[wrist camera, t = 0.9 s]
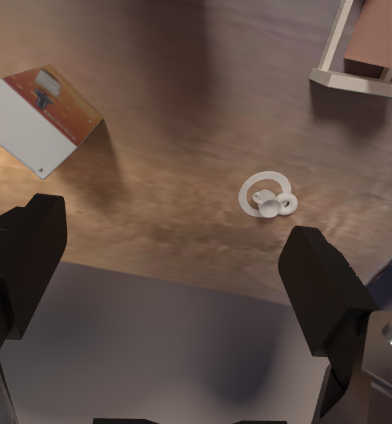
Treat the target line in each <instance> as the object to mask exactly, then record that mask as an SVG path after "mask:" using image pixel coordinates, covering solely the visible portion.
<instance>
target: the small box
mask: <svg viewBox="0 0 392 424" xmlns="http://www.w3.org/2000/svg"><path fill="white" fill-rule="evenodd" d="M102 119H103V117H102V116H101V115H100V114H99V113H98V112H97V111H95V110H94V109H93V108H92V107H91V106H90V105H89V104H88V103H87V102H86V101H85V100H84V99H83V98H82V97H81V96H80V94H79V93H78V92H77V91H76V90H75V89H74V88H73V87H72V86H71V85H70V84H69V83H68V82H67V81H66V80H65V79H64V78H63V77H62V76H61V75H60V74H59V73H58V72H57V71H56V70H55V69H54V68H53V67H52V66H51V65H50V64H47V65H43V66H40V67H37V68H34V69H30V70H27V71H24V72H21V73H17V74H14V75H10V76H7V77H4V78H2V79H1V80H0V146H1V147H2V148H4V149H5V150H6V151H8V152H9V153H10V154H11V155H13V156H14V157H15V158H16V159H18V160H19V161H20V162H21V163H23V164H24V165H25V166H26V167H28V168H29V169H30V170H31V171H32V172H34V173H35V174H36V175H37V176H38V177H39V178H40V179H42V180H45V179H46V178H47V177H48V176H49V175H50V174H51V173H52V172H53V171H54V170H55V169H56V168H57V167H59V166H60V165H61V164H62V163H63V162H64V161H65V160H66V159H67V158H68V157H69V156H70V155H71V154H72V153H73V152H74V151H75V150H76V149H77V148H78V147H79V146H80V145H81V144H82V143H83V142H84V140H85V139H86V138H87V137H88V136H89V134H90V133H91V132H92V131H93V130H94V128H95V127H96V126H97V125H98V124H99V123H100V121H101V120H102Z"/></svg>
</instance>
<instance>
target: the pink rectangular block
mask: <svg viewBox="0 0 392 424" xmlns="http://www.w3.org/2000/svg"><path fill="white" fill-rule="evenodd" d="M344 58H346V59H351V60H355V61H360V62H364V63H369V64H374V65H378V66H383V67H387V68H392V0H366V1H365V4H364V6H363V9H362V11H361V14H360V17H359V19H358V22H357V24H356V27H355V30H354V32H353V35H352V37H351V40H350V43H349V45H348V48H347V50H346V53H345V56H344Z"/></svg>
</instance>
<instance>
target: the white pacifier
mask: <svg viewBox="0 0 392 424" xmlns="http://www.w3.org/2000/svg"><path fill="white" fill-rule="evenodd" d="M262 179H273V180H275V181H277V182H278V183H279V184H280V185H281V187H282V190H283V193H281V194H279V195H277V196H275V195H274V194H273V193H272V192H271V191H269V190H266V189H264V190H261V191H260V192H255V193H254V194H253V195H252V199H253V200H254V201H255V202H256V203H257V206H258V209H259V210H256V209H254V208H252V207H251V206H250V205H249V204H248V202H247V199H246V195H247V191H248V189H249V188H250V187H251V185H252V184H254V183H255V182H257V181H259V180H262ZM255 195H257V198H256V197H255ZM238 200H239V204H240V206H241V208H242V209H243V211H244V212H246V213H247V214H249V215H251V216H255V217H266V218H271V217H274V216H276V215H277V214H280V215H288V214H291V213H292V212H294V211H295V210H296V208H297V206H298V201H297V198H296V197H295V196H294V195H293V194H291V186H290V183H289V181H288V180H287V178H286V177H285V176H283V175H282V174H280V173H277V172H273V171H265V172H260V173H257V174H255V175H253V176H251V177H250V178H249V179H248V180H246V181H245V183H244V184H243V185H242V187H241V189H240V191H239V196H238ZM287 202H289V206H287V207H284V206H285V205H286V204H287Z"/></svg>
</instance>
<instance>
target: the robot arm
mask: <svg viewBox="0 0 392 424" xmlns="http://www.w3.org/2000/svg"><path fill="white" fill-rule="evenodd" d="M66 243H67V223H66V211H65V201H64V198H63V197H62V196H57V195H49V194H40V193H37V194H35V195H34V196H33V198H32V199H31V200H30V201H29V203H28V204H27V205H26V206H25V207H15V208H13V209H11V210H9V211H8V212H6V213H4V214H2V215H1V216H0V348H1V346H2V345H3V343H4V341H5V339H12V340H21V339H22V336H23V335H24V332H25V331H26V329H27V327H28V325H29V323H30V320H31V318H32V316H33V314H34V312H35V310H36V308H37V306H38V304H39V302H40V300H41V298H42V296H43V294H44V292H45V290H46V288H47V285H48V284H49V281H50V279H51V277H52V275H53V273H54V271H55V269H56V267H57V265H58V263H59V261H60V259H61V257H62V255H63V253H64V251H65V247H66ZM278 270H279V274H280V277H281V279H282V282H283V284H284V287H285V289H286V292H287V294H288V297H289V299H290V302H291V304H292V307H293V309H294V311H295V314H296V316H297V319H298V321H299V324H300V326H301V329H302V331H303V334H304V336H305V339H306V341H307V344H308V346H309V349H310V351H311V354H312V356H317V357H328V359H329V361H330V364H329V366H328V367H327V368H326V371H325V375H324V378H323V382H322V386H321V390H320V393H319V397H318V401H317V405H316V408H315V412H314V416H313V419H312V422H311V424H392V313H390V312H386V311H382V310H381V309H380V308H379V306H378V305H377V303H376V302H375V300H374V299H373V297H372V296H371V295H370V293H369V292H368V290H367V289H366V287H365V286H364V285H363V283H362V282H361V280H360V279H359V277H358V276H356V273H355V272H354V270H353V269H352V268H351V267H349V263H348V262H347V260H346V259H345V258H344V256H343V255H342V253H341V252H339V251H338V250H337V249H336V248H335V247H334V246H332V245H331V244H330V243H328V242H327V240H326V239H325V237H324V236H323V234H322V233H321V231H320V230H319V229H318V228H313V227H304V226H295V227H294V228H293V229H292V231H291V233H290V235H289V237H288V239H287V242H286V244H285V246H284V248H283V250H282V252H281V255H280V257H279V261H278ZM0 424H19V422H18V419H17V416H16V412H15V409H14V405H13V402H12V399H11V395H10V392H9V389H8V385H7V382H6V379H5V375H4V372H3V369H2V366H1V362H0ZM93 424H158V423H155V422H152V421H149V420H146V419H108V418H94V420H93ZM234 424H287V421H240V422H237V423H234Z"/></svg>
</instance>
